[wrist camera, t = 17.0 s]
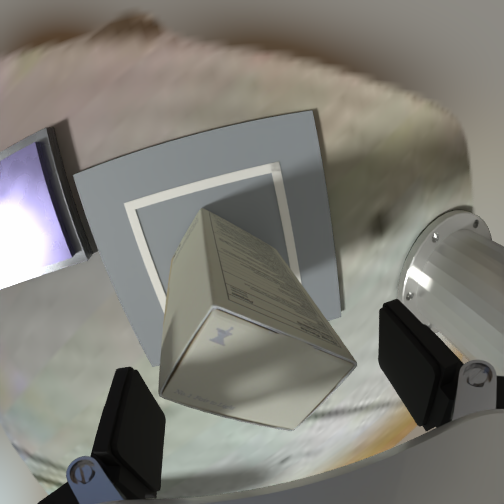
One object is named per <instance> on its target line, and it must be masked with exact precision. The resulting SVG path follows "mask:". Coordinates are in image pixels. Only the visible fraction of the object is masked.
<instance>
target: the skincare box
mask: <svg viewBox="0 0 504 504" xmlns="http://www.w3.org/2000/svg"><path fill="white" fill-rule="evenodd" d="M356 366H357V362H356V361H355V359H354V358H353V356H352V355H351V353H350V352H349V351H348V349H347V348H346V346H345V345H344V343H343V342H342V340H341V339H340V338H339V336H338V335H337V333H336V332H335V331H334V329H333V328H332V326H331V325H330V324H329V322H328V321H327V319H326V318H325V317H324V315H323V314H322V312H321V311H320V310H319V308H318V307H317V305H316V304H315V302H314V301H313V300H312V298H311V297H310V295H309V294H308V293H307V291H306V290H305V288H304V287H303V286H302V284H301V283H300V282H299V280H298V279H297V277H296V276H295V275H294V273H293V272H292V270H291V269H290V268H289V266H288V265H287V264H286V262H285V261H284V259H283V258H282V257H281V255H280V254H279V253H278V251H277V250H276V249H275V248H273V247H272V246H270V245H268V244H267V243H265V242H263V241H262V240H260V239H258V238H257V237H255V236H253V235H251V234H250V233H248V232H246V231H244V230H243V229H241V228H239V227H237V226H235V225H234V224H232V223H230V222H228V221H226V220H225V219H223V218H221V217H219V216H217V215H215V214H213V213H211V212H210V211H208V210H206V209H204V208H201V209H200V210H199V212H198V213H197V215H196V216H195V218H194V220H193V221H192V223H191V225H190V226H189V228H188V230H187V232H186V233H185V235H184V237H183V239H182V240H181V242H180V244H179V246H178V248H177V250H176V252H175V254H174V256H173V258H172V260H171V266H170V273H169V281H168V288H167V295H166V304H165V313H164V322H163V334H162V344H161V356H160V373H159V391H158V392H159V396H160V397H162V398H164V399H167V400H170V401H173V402H175V403H178V404H181V405H184V406H187V407H190V408H193V409H197V410H200V411H203V412H207V413H211V414H214V415H218V416H221V417H225V418H229V419H233V420H237V421H240V422H245V423H250V424H255V425H259V426H265V427H270V428H275V429H281V430H287V431H293V430H295V429H296V428H297V427H298V426H300V425H301V424H302V423H303V422H304V421H305V420H306V419H307V418H308V417H309V416H310V415H311V414H312V413H313V412H314V411H315V410H316V409H317V408H318V407H319V406H320V405H321V404H322V403H324V401H325V400H326V399H327V398H328V397H329V396H330V395H331V394H332V393H333V392H334V391H335V390H336V389H337V388H338V387H339V386H340V385H341V383H342V382H343V381H344V380H345V379H346V378H347V377H348V376H349V375H350V374H351V372H352V371H353V370H354V369H355V368H356Z"/></svg>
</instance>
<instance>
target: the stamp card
mask: <svg viewBox="0 0 504 504" xmlns="http://www.w3.org/2000/svg"><path fill="white" fill-rule="evenodd" d="M73 177H74V180H75V183H76V187H77V190H78V193H79V196H80V200H81V203H82V206H83V209H84V212H85V215H86V218H87V220H88V223H89V226H90V229H91V232H92V234H93V237H94V240H95V243H96V245H97V248H98V250H99V253H100V256H101V258H102V261H103V263H104V266H105V268H106V271H107V273H108V275H109V278H110V280H111V282H112V285H113V287H114V289H115V292H116V294H117V296H118V298H119V301H120V303H121V305H122V307H123V309H124V312H125V314H126V316H127V318H128V320H129V322H130V324H131V326H132V328H133V330H134V332H135V334H136V336H137V338H138V340H139V342H140V344H141V346H142V348H143V350H144V352H145V354H146V356H147V358H148V360H149V361H150V363H151V365H152V367H154V366H159V365H160V356H161V344H162V334H163V322H164V313H165V304H166V295H167V288H168V281H169V273H170V266H171V260H172V258H173V256H174V254H175V252H176V250H177V248H178V246H179V244H180V242H181V240H182V239H183V237H184V235H185V233H186V232H187V230H188V228H189V226H190V225H191V223H192V221H193V220H194V218H195V216H196V215H197V213H198V212H199V210H200V209H201V208H204V209H206V210H208V211H210V212H211V213H213V214H215V215H217V216H219V217H221V218H223V219H225V220H226V221H228V222H230V223H232V224H234V225H235V226H237V227H239V228H241V229H243V230H244V231H246V232H248V233H250V234H251V235H253V236H255V237H257V238H258V239H260V240H262V241H263V242H265V243H267V244H268V245H270V246H272V247H273V248H275V249H276V250H277V251H278V253H279V254H280V255H281V257H282V258H283V259H284V261H285V262H286V264H287V265H288V266H289V268H290V269H291V270H292V272H293V273H294V275H295V276H296V277H297V279H298V280H299V282H300V283H301V284H302V286H303V287H304V288H305V290H306V291H307V293H308V294H309V295H310V297H311V298H312V300H313V301H314V302H315V304H316V305H317V307H318V308H319V310H320V311H321V312H322V314H323V315H324V317H325V318H326V319H327V321H330V320H333V319H336V318H339V317H341V307H340V295H339V284H338V274H337V265H336V256H335V247H334V239H333V231H332V223H331V216H330V209H329V202H328V195H327V189H326V182H325V176H324V170H323V164H322V158H321V153H320V147H319V142H318V136H317V131H316V126H315V121H314V116H313V111H312V110H311V111H305V112H298V113H292V114H286V115H281V116H275V117H270V118H265V119H260V120H255V121H250V122H245V123H240V124H236V125H231V126H227V127H223V128H219V129H215V130H211V131H207V132H203V133H199V134H195V135H191V136H188V137H184V138H180V139H177V140H173V141H170V142H166V143H163V144H160V145H156V146H153V147H150V148H147V149H144V150H141V151H137V152H134V153H131V154H128V155H125V156H123V157H120V158H117V159H114V160H111V161H108V162H106V163H103V164H100V165H98V166H95V167H92V168H90V169H87V170H84V171H82V172H79V173H77V174H74V175H73Z"/></svg>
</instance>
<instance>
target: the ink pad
mask: <svg viewBox="0 0 504 504" xmlns="http://www.w3.org/2000/svg"><path fill="white" fill-rule="evenodd" d="M92 254H93V253H92V251H91V248H90V245H89V243H88V240H87V237H86V235H85V232H84V229H83V226H82V224H81V221H80V218H79V215H78V212H77V209H76V206H75V203H74V200H73V197H72V194H71V190H70V187H69V184H68V180H67V177H66V174H65V170H64V166H63V163H62V159H61V155H60V151H59V148H58V144H57V139H56V135H55V131H54V127H49V128H44V129H42V130H40V131H38V132H36V133H34V134H32V135H30V136H29V137H27V138H25V139H23V140H21V141H19V142H17V143H16V144H14V145H12V146H10V147H9V148H7V149H5V150H4V151H2V152H0V289H2V288H5V287H8V286H10V285H13V284H16V283H19V282H22V281H25V280H28V279H31V278H34V277H37V276H40V275H43V274H46V273H50V272H53V271H56V270H59V269H62V268H65V267H68V266H71V265H75V264H78V263H81V262H84V261H87V260H88V259H89V258H90V257H91V256H92Z"/></svg>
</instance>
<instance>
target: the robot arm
mask: <svg viewBox="0 0 504 504" xmlns="http://www.w3.org/2000/svg"><path fill="white" fill-rule="evenodd" d="M397 298H398V299H395V300H392V301H389V302H386V303H384V304H383V308H381V309H380V310H379V355H378V361H379V365H380V367H381V369H382V371H383V372H384V374H385V375H386V377H387V378H388V380H389V381H390V383H391V384H392V386H393V387H394V389H395V390H396V392H397V394H398V395H399V397H400V398H401V400H402V401H403V403H404V404H405V406H406V408H407V409H408V411H409V412H410V414H411V415H412V417H413V419H414V420H415V422H416V423H417V425H418V426H423V427H424V429H425V430H426V431H428V430H430V429H432V428H434V427H436V428H435V429H433V430H431V431H429V432H427V433H425V434H423V435H421V436H419V437H416V438H414V439H412V440H410V441H408V442H406V443H403V444H401V445H398V446H396V447H394V448H391V449H389V450H386V451H384V452H382V453H379V454H377V455H374V456H371V457H369V458H366V459H363V460H361V461H358V462H355V463H352V464H349V465H346V466H343V467H340V468H337V469H334V470H331V471H327V472H324V473H321V474H317V475H314V476H310V477H306V478H303V479H299V480H295V481H291V482H286V483H282V484H278V485H273V486H268V487H263V488H258V489H252V490H246V491H240V492H233V493H226V494H219V495H210V496H200V497H188V498H172V499H145V498H156V495H157V491H159V490H160V487H161V472H162V458H163V445H164V434H165V423H166V419H165V415H164V413H163V411H162V410H161V408H160V407H159V405H158V403H157V402H156V400H155V399H154V397H153V395H152V394H151V392H150V390H149V389H148V387H147V385H146V384H145V382H144V380H143V379H142V377H141V375H140V374H139V372H138V371H137V370H134V369H133V368H132V367H125V368H118V369H117V370H116V372H115V375H114V378H113V381H112V384H111V387H110V391H109V394H108V397H107V401H106V404H105V406H104V409H103V412H102V416H101V419H100V423H99V426H98V430H97V434H96V437H95V441H94V445H93V449H92V453H91V457H89V456H82V457H79V458H77V459H75V460H74V461H72V462H71V464H70V465H69V466H68V469H67V471H66V478H67V481H68V482H67V483H65V484H64V485H62V486H61V487H60V488H58V489H57V490H55V491H54V492H53V493H51V494H50V495H48V496H47V497H46V498H44V499H43V500H41V501H40V502H39V503H38V504H504V247H503V246H501V245H499V244H497V243H496V242H494V241H492V238H491V234H490V231H489V228H488V227H487V225H486V223H485V222H484V221H483V220H482V219H481V218H480V217H479V216H477V215H475V214H473V213H471V212H468V211H465V210H455V211H451V212H448V213H446V214H444V215H442V216H440V217H439V218H437V219H436V220H435V221H433V222H432V223H431V224H430V225H429V226H428V227H427V228H426V229H425V230H424V231H423V232H422V234H421V235H420V236H419V237H418V239H417V240H416V242H415V243H414V245H413V246H412V248H411V250H410V252H409V254H408V256H407V258H406V260H405V263H404V266H403V268H402V271H401V275H400V279H399V284H398V295H397ZM436 332H440V333H441V334H442V335H443V336H444V337H445V338H446V339H447V340H448V341H449V342H450V343H451V344H452V345H453V346H454V347H455V348H456V349H457V350H458V351H459V352H460V353H461V354H462V355H463V356H464V357H465V358H466V359H468V361H469V362H467V363H465V364H463V363H462V362H461V361H460V359H459V358H458V357H457V356H456V355H455V354H454V353H453V352H452V351H451V350H450V349H449V348H448V347H447V346H446V345H445V343H444V342H443V341H442V340H441V339H440V338H439V337H438V336H437V335H436V334H435V333H436Z"/></svg>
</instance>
